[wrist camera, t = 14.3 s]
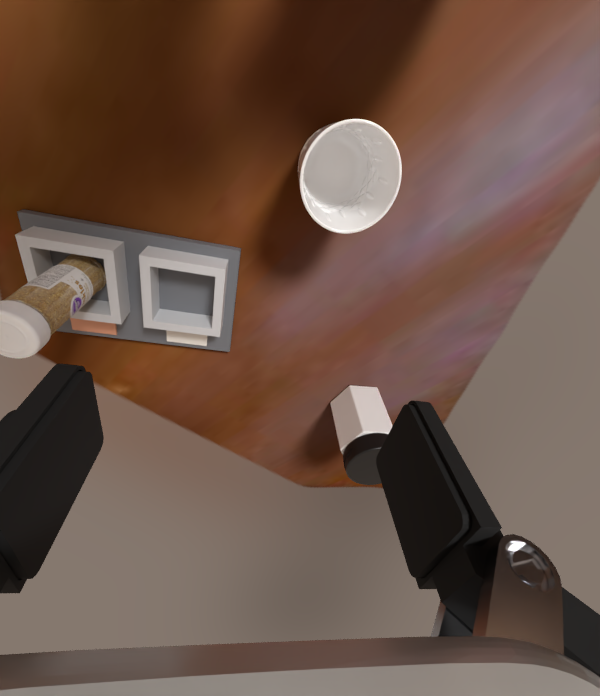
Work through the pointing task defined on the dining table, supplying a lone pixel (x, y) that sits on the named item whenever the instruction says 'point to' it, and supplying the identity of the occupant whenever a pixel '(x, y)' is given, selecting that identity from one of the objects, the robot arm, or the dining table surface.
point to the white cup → (349, 175)
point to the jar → (361, 431)
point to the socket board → (140, 280)
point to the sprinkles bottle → (47, 304)
